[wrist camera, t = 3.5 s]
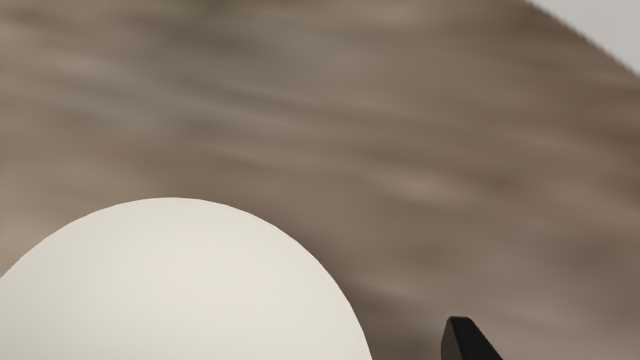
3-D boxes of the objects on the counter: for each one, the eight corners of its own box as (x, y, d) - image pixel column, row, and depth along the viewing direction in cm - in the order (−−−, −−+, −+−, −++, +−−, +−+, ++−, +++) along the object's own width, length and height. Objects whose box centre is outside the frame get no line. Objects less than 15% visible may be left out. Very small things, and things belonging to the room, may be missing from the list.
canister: (378, 312, 17) (468, 378, 6) (278, 447, 16) (177, 801, 5) (256, 214, 18) (142, 118, 7) (154, 339, 17) (-158, 455, 6)
